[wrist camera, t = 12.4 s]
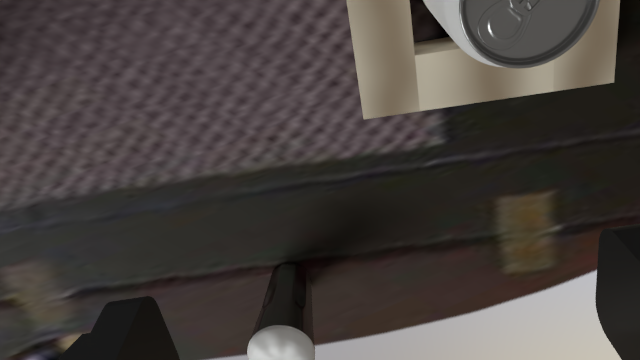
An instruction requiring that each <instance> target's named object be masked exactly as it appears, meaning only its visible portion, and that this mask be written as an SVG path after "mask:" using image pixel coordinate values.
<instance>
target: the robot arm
mask: <svg viewBox="0 0 640 360" xmlns="http://www.w3.org/2000/svg"><path fill="white" fill-rule="evenodd" d="M596 308H597V313H598V317H599V320H600V323H601V325H602V328H603V330H604V333H605V334H606V336H607V338H608V339H609V341H610V342H611V344H612V345H613V347H614V348H615V350H616V351H617V353H618V354H619V356H620V357H621V359H622V360H640V224H635V225H628V226H621V227H615V228H608V229H604V230H603V231H602V232H601V234H600V238H599V251H598V267H597V285H596ZM58 360H180V359H179V356H178V353H177V350H176V348H175V346H174V343H173V341H172V338H171V336H170V334H169V331H168V329H167V326H166V324H165V322H164V319H163V317H162V314H161V312H160V309H159V307H158V305H157V303H156V301H155V300H154V299H153V298H152V297H150V296H146V297H139V298H133V299H126V300H119V301H113V302H109V303H107V304H106V305H105V307H104V308H103V310H102V312H101V314H100V316H99V318H98V320H97V321H96V323H95V325H94V327H93V329H92V331H91V333H87V334H82V335H81V336H80V337H79V338H78V339H77V340H76V341H75V342H74V343H73V344H72V345H71V346H70V347H69V348H68V349H67V350H66V351H65V352H64V353H63V354H62V355H61V356H60V357H59V359H58Z"/></svg>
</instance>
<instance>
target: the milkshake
mask: <svg viewBox="0 0 640 360" xmlns="http://www.w3.org/2000/svg"><path fill="white" fill-rule="evenodd" d="M247 355H248V359H249V360H314V359H315V346H314V333H313V314H312V287H311V278H310V276H309V274H308V272H307V270H306V269H305V268H303V267H301V266H299V265H297V264H296V263H291V264H282V265H280V266H279V267H277V268H276V269H274V270H273V272H272V275H271V278H270V282H269V285H268V288H267V292H266V295H265V298H264V302H263V305H262V308H261V311H260V314H259V316H258V319H257V322H256V324H255V327H254V330H253V333H252V336H251V339H250V342H249V345H248V350H247Z"/></svg>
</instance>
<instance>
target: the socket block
mask: <svg viewBox="0 0 640 360" xmlns="http://www.w3.org/2000/svg"><path fill="white" fill-rule="evenodd" d="M347 7H348V14H349V21H350V28H351V35H352V42H353V48H354V55H355V62H356V69H357V76H358V83H359V90H360V97H361V104H362V111H363V118H364V119H370V118H377V117H383V116H390V115H397V114H404V113H410V112H417V111H424V110H431V109H437V108H444V107H451V106H458V105H465V104H471V103H478V102H485V101H492V100H498V99H505V98H512V97H519V96H525V95H532V94H539V93H546V92H553V91H559V90H566V89H573V88H580V87H586V86H593V85H600V84H607V83H613V82H614V74H615V61H616V48H617V35H618V21H619V8H620V0H600V3H599V6H598V9H597V12H596V15H595V17H594V19H593V21H592V23H591V25H590V26H589V28H588V29H587V31H586V32H585V34H584V35H583V36H582V37H581V39H580V40H579V41H578V42H577V43H576V44H575V45H574V46H573V47H572V48H570V49H569V50H568V51H567V52H565V53H564V54H563V55H561V56H559V57H558V58H556V59H554V60H552V61H550V62H548V63H545V64H542V65H539V66H535V67H531V68H519V69H517V68H506V67H496V66H491V65H488V64H485V63H482V62H480V61H478V60H476V59H474V58H472V57H471V56H469V55H468V54H467V53H465V52H464V51H463V50H462V49H461V48H460V47H459V46H458V45H457V44H456V43H455V42H454V41H453V39H452V38H451V37H447V38H440V39H434V40H428V41H422V42H416V43H414V42H413V32H412V21H411V10H410V0H347Z"/></svg>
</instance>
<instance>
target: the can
mask: <svg viewBox="0 0 640 360" xmlns="http://www.w3.org/2000/svg"><path fill="white" fill-rule="evenodd" d="M423 2H424V4H425V5H426V7H427V8H428V9H429V11H430V12H431V13H432V14H433V16H434V17H435V18H436V20H437V21H438V22H439V23H440V25H441V26H442V27H443V28H444V30H445V31H446V32H447V33H448V35H449V36H450V37H451V38H452V39H453V41H454V42H455V43H456V44H457V45H458V46H459V47H460V48H461V49H462V50H463V51H464V52H465V53H467V54H468V55H469V56H471V57H472V58H474V59H476V60H478V61H480V62H482V63H485V64H488V65H491V66H496V67H506V68H517V69H519V68H531V67H535V66H539V65H542V64H545V63H548V62H550V61H552V60H554V59H556V58H558V57H559V56H561V55H563V54H564V53H565V52H567V51H568V50H569V49H570V48H572V47H573V46H574V45H575V44H576V43H577V42H578V41H579V40H580V39H581V37H582V36H583V35H584V34H585V32H586V31H587V29H588V28H589V26H590V25H591V23H592V21H593V19H594V17H595V15H596V12H597V9H598V6H599V3H600V0H423Z"/></svg>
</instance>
